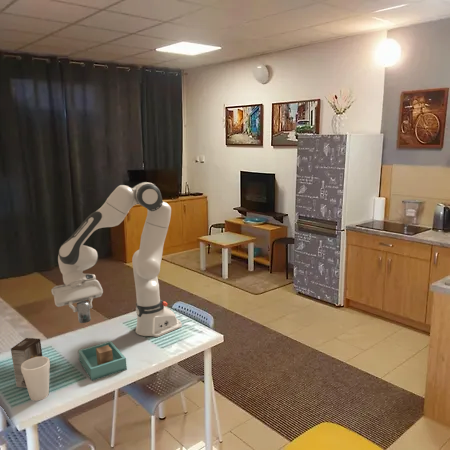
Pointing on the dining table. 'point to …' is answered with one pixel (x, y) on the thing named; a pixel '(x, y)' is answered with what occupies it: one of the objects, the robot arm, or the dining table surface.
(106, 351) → the walnut block
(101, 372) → the tote
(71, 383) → the dining table surface
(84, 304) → the grey cylinder
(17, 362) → the coffee box
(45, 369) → the foam cup
